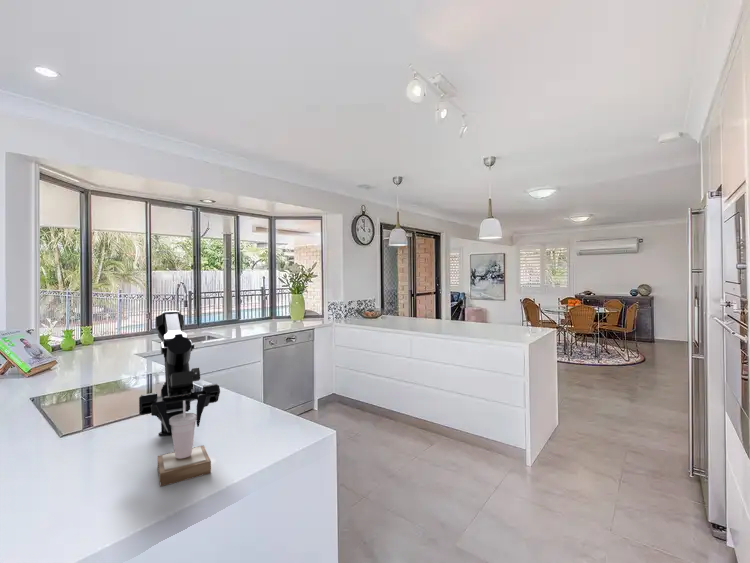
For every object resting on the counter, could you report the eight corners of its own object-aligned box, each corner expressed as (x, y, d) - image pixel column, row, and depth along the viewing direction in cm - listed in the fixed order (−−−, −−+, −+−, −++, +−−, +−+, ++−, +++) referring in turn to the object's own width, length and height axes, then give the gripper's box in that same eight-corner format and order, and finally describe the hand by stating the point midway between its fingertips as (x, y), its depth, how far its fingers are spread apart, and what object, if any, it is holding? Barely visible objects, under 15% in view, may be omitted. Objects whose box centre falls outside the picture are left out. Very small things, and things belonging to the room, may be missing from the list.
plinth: (157, 467, 98) (157, 454, 98) (203, 456, 104) (203, 444, 104) (160, 486, 89) (160, 472, 89) (210, 473, 95) (210, 460, 95)
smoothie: (179, 463, 93) (178, 406, 92) (163, 457, 96) (162, 401, 96) (202, 452, 98) (202, 398, 98) (187, 447, 101) (186, 394, 101)
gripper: (138, 363, 95) (140, 421, 86) (218, 354, 105) (227, 405, 96) (138, 386, 102) (140, 443, 93) (213, 376, 112) (221, 426, 103)
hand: (183, 428), depth 96 cm, fingers closed on smoothie, 6 cm apart
